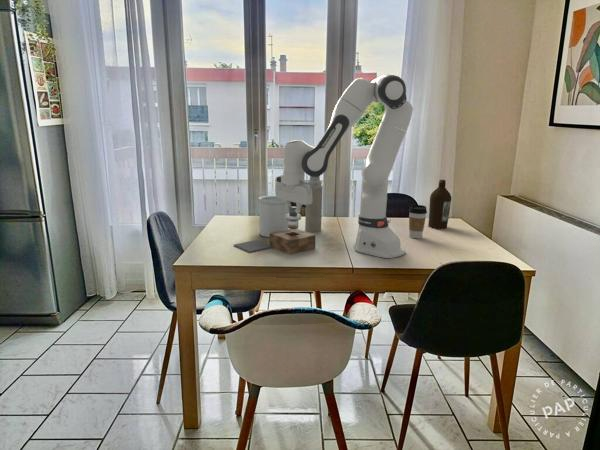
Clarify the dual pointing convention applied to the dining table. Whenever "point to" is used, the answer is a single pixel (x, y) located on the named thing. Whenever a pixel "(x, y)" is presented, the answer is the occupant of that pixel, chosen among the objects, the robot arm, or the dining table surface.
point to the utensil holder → (272, 215)
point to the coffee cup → (417, 220)
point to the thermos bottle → (314, 206)
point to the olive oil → (439, 207)
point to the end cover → (293, 218)
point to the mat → (253, 246)
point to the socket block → (292, 241)
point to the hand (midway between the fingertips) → (293, 212)
